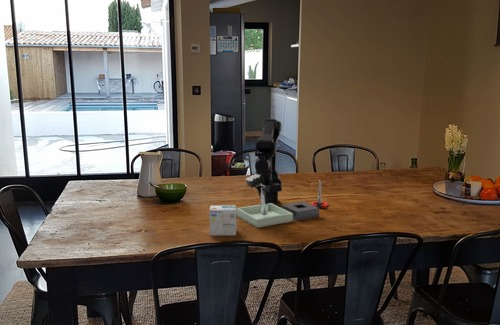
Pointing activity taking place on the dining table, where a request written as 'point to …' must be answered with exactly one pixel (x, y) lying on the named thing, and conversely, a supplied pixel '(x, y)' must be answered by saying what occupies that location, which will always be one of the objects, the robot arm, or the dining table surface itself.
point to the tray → (256, 219)
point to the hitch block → (301, 210)
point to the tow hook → (319, 200)
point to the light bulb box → (223, 220)
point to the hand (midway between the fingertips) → (264, 203)
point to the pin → (263, 203)
